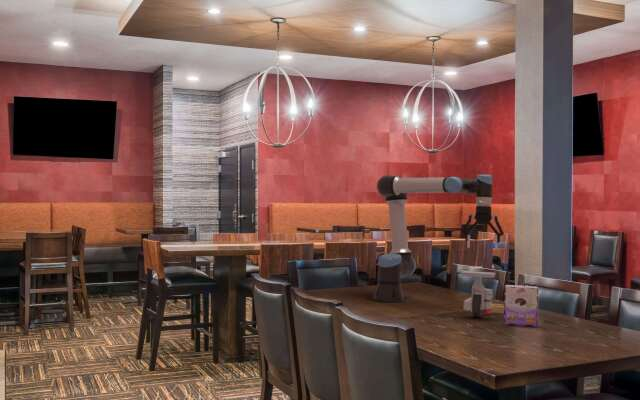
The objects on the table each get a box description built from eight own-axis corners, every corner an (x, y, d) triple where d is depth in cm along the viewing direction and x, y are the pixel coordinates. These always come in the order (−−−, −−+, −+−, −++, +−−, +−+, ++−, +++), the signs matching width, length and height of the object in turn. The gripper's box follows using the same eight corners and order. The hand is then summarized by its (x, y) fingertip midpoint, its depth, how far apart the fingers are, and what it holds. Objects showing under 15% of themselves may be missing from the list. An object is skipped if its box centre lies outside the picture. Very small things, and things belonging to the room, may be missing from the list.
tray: (484, 312, 324) (485, 303, 324) (463, 310, 328) (463, 301, 328) (490, 307, 339) (490, 299, 339) (470, 306, 343) (470, 297, 343)
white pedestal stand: (459, 317, 307) (460, 272, 307) (463, 313, 317) (465, 270, 317) (491, 320, 301) (492, 274, 301) (494, 316, 311) (496, 272, 311)
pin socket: (487, 312, 325) (487, 305, 325) (490, 309, 333) (490, 303, 333) (506, 313, 321) (507, 307, 321) (509, 311, 329) (509, 305, 329)
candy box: (537, 325, 293) (539, 286, 293) (537, 327, 287) (538, 287, 287) (504, 322, 297) (505, 284, 297) (503, 324, 292) (504, 285, 292)
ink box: (492, 314, 318) (493, 288, 318) (485, 315, 314) (486, 289, 315) (477, 312, 324) (478, 286, 324) (470, 312, 321) (471, 287, 321)
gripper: (456, 204, 343) (455, 247, 343) (508, 206, 333) (507, 250, 333) (460, 205, 350) (458, 246, 350) (510, 206, 340) (509, 249, 340)
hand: (482, 248), depth 341 cm, fingers open, 13 cm apart
